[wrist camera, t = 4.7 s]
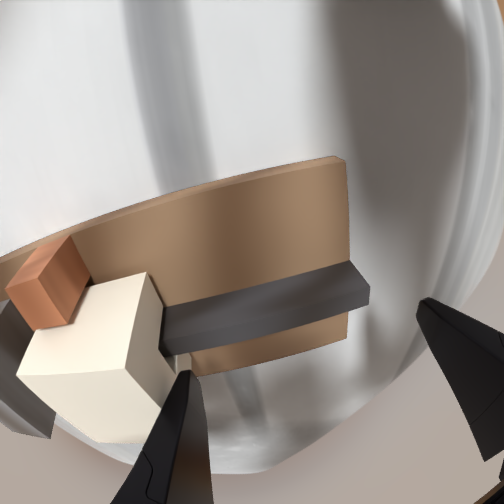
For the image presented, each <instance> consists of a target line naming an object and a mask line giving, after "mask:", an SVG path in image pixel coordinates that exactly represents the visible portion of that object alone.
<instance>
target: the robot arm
mask: <svg viewBox="0 0 504 504" xmlns="http://www.w3.org/2000/svg"><path fill="white" fill-rule="evenodd" d="M416 318H417V321H418V323H419V326H420V328H421V330H422V332H423V334H424V336H425V339H426V341H427V343H428V345H429V347H430V349H431V351H432V353H433V355H434V357H435V359H436V360H437V362H438V364H439V366H440V368H441V369H442V371H443V373H444V375H445V377H446V379H447V381H448V383H449V384H450V386H451V388H452V390H453V392H454V394H455V396H456V398H457V400H458V402H459V404H460V406H461V409H462V411H463V413H464V415H465V417H466V419H467V422H468V424H469V425H470V429H471V431H472V433H473V436H474V438H475V440H476V443H477V445H478V448H479V450H480V453H481V455H482V457H483V460H484V462H485V461H487V460H488V459H490V458H492V457H493V456H495V455H496V454H498V453H500V452H501V451H502V450H504V334H503V333H501V332H499V331H497V330H495V329H493V328H491V327H489V326H487V325H485V324H483V323H481V322H480V321H478V320H476V319H474V318H472V317H470V316H467V315H465V314H463V313H461V312H459V311H457V310H455V309H453V308H451V307H449V306H447V305H445V304H443V303H441V302H439V301H437V300H435V299H432V298H430V297H427V298H424V299H422V300H421V301H420V302H419V306H418V309H417V313H416ZM499 479H500V481H501V482H500V483H499V484H497V485H496V486H495V487H494V488H493V489H491V490H490V491H489V492H488V493H487V494H485V495H484V496H483V497H482V498H480V499H479V500H478V501H476V502H475V503H474V504H504V460H503V464H502V468H501V472H500V475H499ZM212 493H213V492H212V483H211V471H210V459H209V445H208V430H207V420H206V414H205V409H204V403H203V397H202V391H201V386H200V382H199V380H198V379H197V377H196V376H195V374H194V373H193V371H192V370H190V369H188V370H183V371H180V372H179V374H178V376H177V378H176V380H175V382H174V384H173V386H172V388H171V390H170V392H169V394H168V396H167V398H166V400H165V402H164V404H163V406H162V409H161V411H160V413H159V415H158V417H157V419H156V421H155V423H154V425H153V427H152V429H151V431H150V433H149V436H148V438H147V440H146V442H145V444H144V446H143V448H142V451H141V452H140V454H139V456H138V458H137V460H136V462H135V464H134V467H133V468H132V470H131V472H130V473H129V475H128V477H127V479H126V480H125V482H124V483H123V485H122V486H121V488H120V490H119V491H118V493H117V494H116V496H115V497H114V499H113V500H112V502H111V503H110V504H214V502H213V494H212Z"/></svg>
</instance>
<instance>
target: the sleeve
mask: <svg viewBox="0 0 504 504" xmlns="http://www.w3.org/2000/svg"><path fill="white" fill-rule="evenodd" d="M162 311H163V305H162V303H161V301H160V299H159V297H158V295H157V293H156V291H155V289H154V287H153V284H152V282H151V280H150V278H149V276H148V274H147V272H144V273H140V274H136V275H132V276H128V277H124V278H121V279H117V280H113V281H109V282H105V283H101V284H98V285H94V286H90V287H86V288H84V289H83V291H82V293H81V295H80V298H79V300H78V302H77V304H76V306H75V308H74V310H73V313H72V315H71V317H70V319H69V322H68V324H65V325H59V326H54V327H49V328H43V329H38V330H36V331H35V333H34V335H33V337H32V339H31V341H30V344H29V346H28V348H27V350H26V352H25V355H24V357H23V359H22V362H21V364H20V366H19V369H18V371H17V374H16V376H17V377H18V378H19V379H20V380H21V381H22V382H23V383H24V384H25V385H26V386H27V387H28V388H29V389H30V390H31V391H32V392H34V393H35V394H36V395H37V396H38V397H39V398H40V399H41V400H42V401H43V402H45V403H46V404H47V405H48V406H49V407H50V408H52V409H53V410H54V411H55V412H56V413H58V414H59V415H60V416H61V417H63V418H64V419H65V420H66V421H68V422H69V423H70V424H72V425H73V426H74V427H76V428H77V429H78V430H80V431H81V432H82V433H84V434H85V435H87V436H88V437H90V438H91V439H93V440H94V441H95V442H100V443H145V442H146V440H147V438H148V436H149V433H150V431H151V429H152V427H153V425H154V423H155V421H156V419H157V417H158V415H159V413H160V411H161V409H162V406H163V404H164V402H165V400H166V398H167V396H168V394H169V392H170V390H171V388H172V386H173V384H174V382H175V380H176V378H177V376H178V374H179V372H180V371H183V370H188V369H190V370H192V367H191V356H190V354H189V353H185V354H180V355H174V356H168V357H163V356H162V354H161V353H160V351H159V350H158V344H159V335H160V327H161V319H162Z"/></svg>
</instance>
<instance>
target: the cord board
mask: <svg viewBox="0 0 504 504" xmlns="http://www.w3.org/2000/svg"><path fill="white" fill-rule="evenodd" d="M144 272H147V274H148V276H149V278H150V280H151V282H152V284H153V287H154V289H155V291H156V293H157V295H158V297H159V299H160V301H161V303H162V305H163V311H162V319H161V327H160V335H159V344H158V350H159V351H160V353H161V354H162V356H163V357H168V356H174V355H180V354H185V353H189V354H190V356H191V367H192V371H193V373H194V374H195V376H196V377H198V376H204V375H209V374H215V373H220V372H225V371H229V370H234V369H239V368H243V367H248V366H252V365H256V364H260V363H264V362H268V361H272V360H276V359H280V358H284V357H287V356H291V355H295V354H298V353H302V352H305V351H308V350H312V349H315V348H318V347H321V346H325V345H328V344H331V343H334V342H337V341H340V340H343V339H346V338H347V325H348V311H351V310H354V309H357V308H360V307H363V306H366V305H369V295H370V286H369V284H368V283H367V282H366V280H365V279H364V278H363V276H362V275H361V274H360V273H359V271H358V270H357V269H356V268H355V266H354V265H353V264H352V262H351V261H350V246H349V209H348V190H347V175H346V163H345V161H344V160H342V159H340V158H338V157H336V156H330V157H325V158H319V159H313V160H308V161H302V162H297V163H292V164H287V165H282V166H277V167H272V168H268V169H263V170H259V171H254V172H250V173H246V174H241V175H237V176H233V177H229V178H225V179H221V180H217V181H213V182H209V183H205V184H202V185H198V186H194V187H191V188H187V189H184V190H180V191H177V192H173V193H170V194H166V195H163V196H160V197H156V198H153V199H150V200H147V201H143V202H140V203H137V204H134V205H131V206H128V207H125V208H122V209H119V210H116V211H113V212H110V213H107V214H105V215H102V216H99V217H96V218H93V219H91V220H88V221H85V222H83V223H80V224H77V225H75V226H72V227H70V228H67V229H64V230H62V231H59V232H57V233H54V234H52V235H50V236H47V237H45V238H42V239H40V240H38V241H35V242H33V243H31V244H28V245H26V246H24V247H22V248H19V249H17V250H15V251H13V252H11V253H9V254H6V255H4V256H2V257H0V422H1V423H2V424H3V425H5V426H6V427H7V428H9V429H10V430H11V431H14V432H17V433H21V434H26V435H31V436H36V437H41V438H47V439H51V434H52V429H53V424H54V420H55V416H56V412H55V411H54V410H53V409H52V408H50V407H49V406H48V405H47V404H46V403H45V402H43V401H42V400H41V399H40V398H39V397H38V396H37V395H36V394H35V393H34V392H32V391H31V390H30V389H29V388H28V387H27V386H26V385H25V384H24V383H23V382H22V381H21V380H20V379H19V378H18V377H17V376H16V374H17V371H18V369H19V366H20V364H21V362H22V359H23V357H24V355H25V352H26V350H27V348H28V346H29V344H30V341H31V339H32V337H33V335H34V333H35V331H36V330H38V329H43V328H49V327H54V326H59V325H65V324H68V322H69V319H70V317H71V315H72V313H73V310H74V308H75V306H76V304H77V302H78V300H79V298H80V295H81V293H82V291H83V289H84V288H86V287H90V286H94V285H98V284H101V283H105V282H109V281H113V280H117V279H121V278H124V277H128V276H132V275H136V274H140V273H144Z"/></svg>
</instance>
